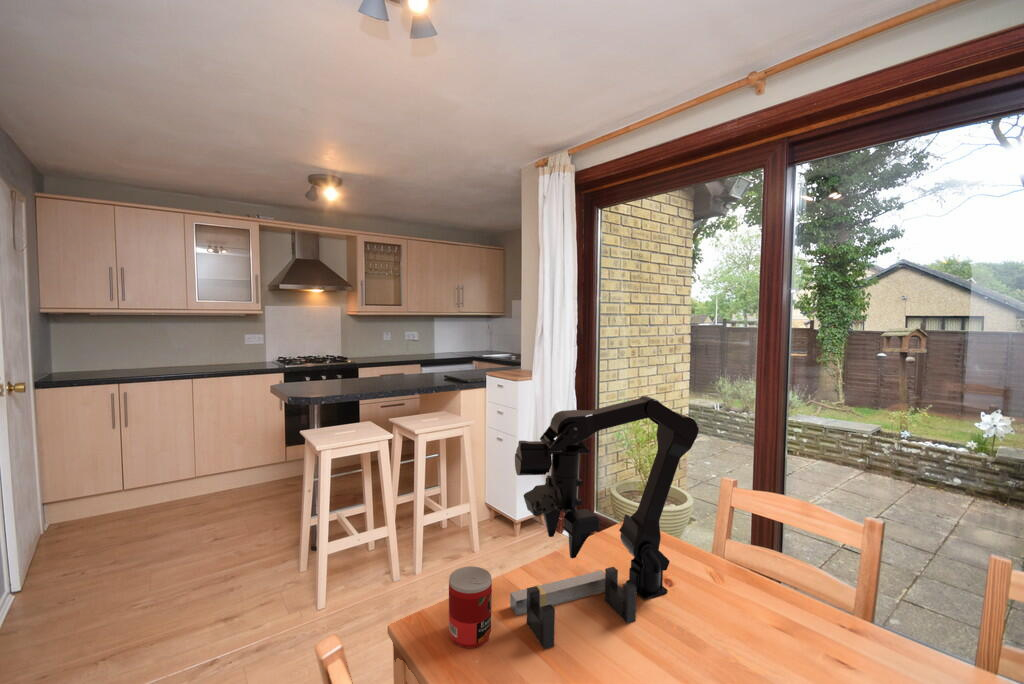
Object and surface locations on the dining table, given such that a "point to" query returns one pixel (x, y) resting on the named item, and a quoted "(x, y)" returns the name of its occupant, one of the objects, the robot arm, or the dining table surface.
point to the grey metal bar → (561, 591)
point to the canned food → (470, 606)
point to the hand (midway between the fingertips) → (561, 546)
